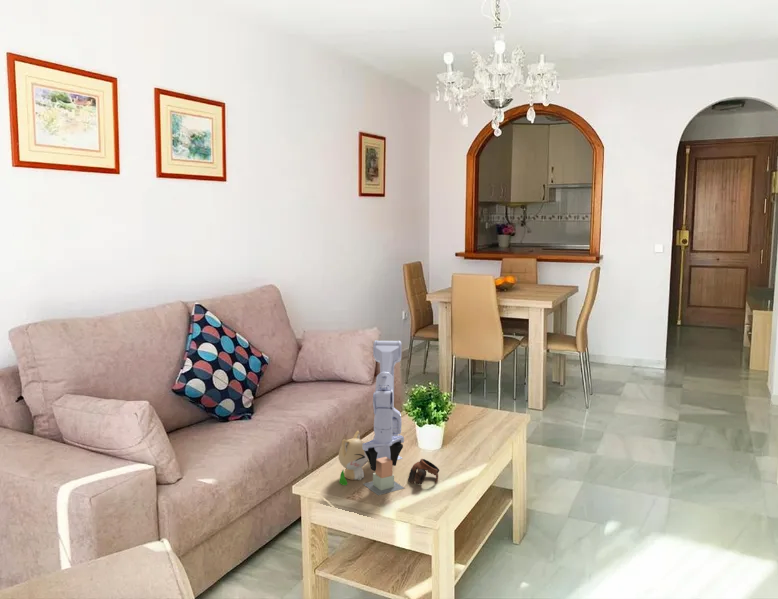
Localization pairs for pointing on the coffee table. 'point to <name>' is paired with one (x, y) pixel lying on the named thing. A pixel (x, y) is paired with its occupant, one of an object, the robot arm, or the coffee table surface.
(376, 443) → the robot arm
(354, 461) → the kitten
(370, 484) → the plate
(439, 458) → the coffee table surface
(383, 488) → the brick
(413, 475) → the brown ring with handle
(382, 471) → the brick
